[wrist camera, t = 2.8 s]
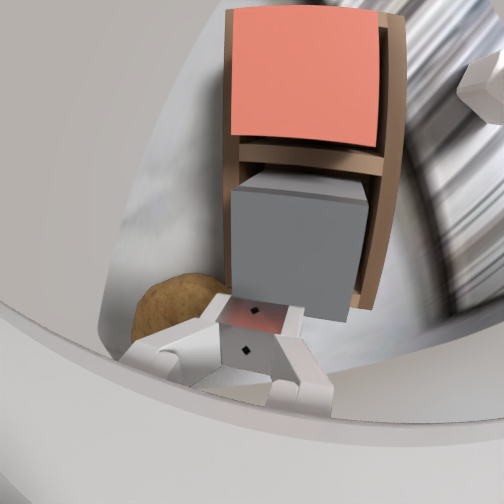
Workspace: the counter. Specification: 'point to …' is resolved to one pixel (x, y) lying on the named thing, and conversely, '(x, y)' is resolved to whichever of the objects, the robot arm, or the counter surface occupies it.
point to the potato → (174, 303)
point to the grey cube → (298, 240)
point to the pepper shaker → (485, 87)
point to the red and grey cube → (306, 73)
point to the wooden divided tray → (332, 156)
